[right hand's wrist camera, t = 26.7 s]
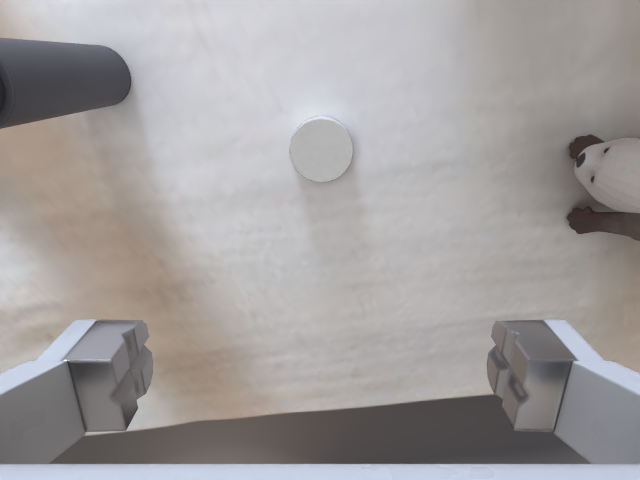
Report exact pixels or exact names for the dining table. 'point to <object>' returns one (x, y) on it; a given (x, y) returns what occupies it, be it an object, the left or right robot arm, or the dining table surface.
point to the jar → (57, 79)
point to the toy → (608, 184)
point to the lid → (321, 149)
